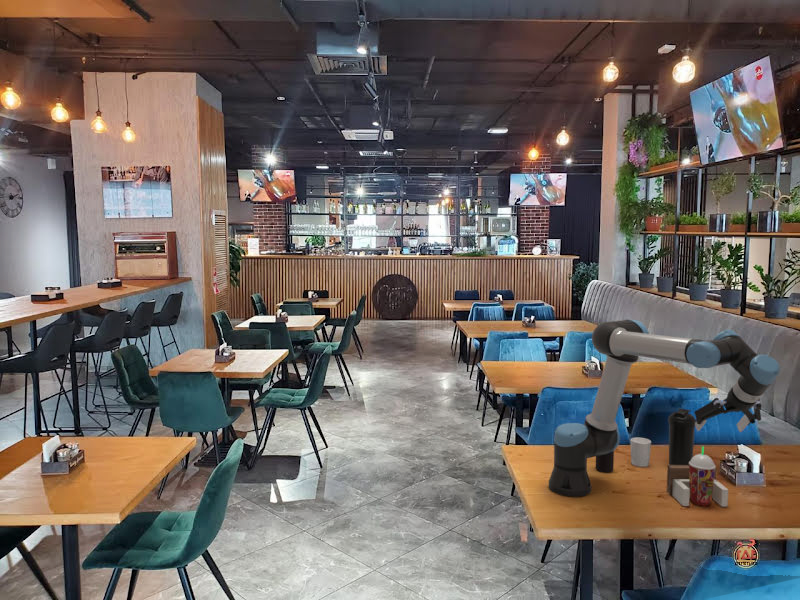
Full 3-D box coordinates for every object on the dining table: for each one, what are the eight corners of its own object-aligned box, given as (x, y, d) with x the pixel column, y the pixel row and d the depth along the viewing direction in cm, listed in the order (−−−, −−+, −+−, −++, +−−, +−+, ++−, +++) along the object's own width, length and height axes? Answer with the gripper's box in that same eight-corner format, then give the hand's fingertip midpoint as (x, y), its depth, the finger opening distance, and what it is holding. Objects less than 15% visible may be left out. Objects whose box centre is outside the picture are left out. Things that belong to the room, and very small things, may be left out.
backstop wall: (715, 495, 218) (716, 468, 218) (669, 494, 219) (671, 467, 218) (711, 492, 221) (712, 465, 221) (666, 491, 222) (667, 464, 221)
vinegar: (591, 469, 244) (593, 420, 242) (602, 465, 248) (603, 417, 246) (606, 474, 239) (608, 424, 237) (616, 470, 243) (618, 421, 241)
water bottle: (697, 465, 248) (700, 410, 246) (689, 472, 240) (691, 415, 238) (671, 459, 255) (673, 406, 253) (662, 466, 247) (665, 410, 245)
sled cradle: (727, 506, 209) (728, 489, 208) (683, 506, 209) (683, 489, 209) (714, 495, 218) (715, 479, 217) (672, 495, 218) (672, 479, 218)
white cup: (653, 467, 246) (654, 443, 245) (633, 467, 246) (634, 443, 245) (646, 460, 254) (646, 437, 253) (626, 460, 254) (627, 437, 253)
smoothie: (712, 509, 207) (715, 452, 205) (685, 504, 211) (688, 447, 209) (714, 500, 214) (717, 445, 212) (688, 495, 218) (691, 441, 216)
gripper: (707, 403, 182) (682, 437, 198) (791, 404, 181) (760, 439, 197) (699, 381, 187) (676, 416, 203) (782, 383, 186) (752, 418, 202)
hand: (717, 427), depth 200 cm, fingers open, 13 cm apart
